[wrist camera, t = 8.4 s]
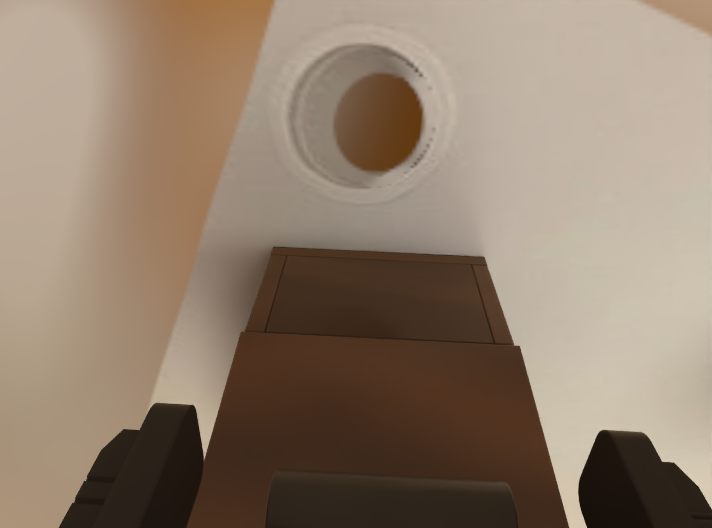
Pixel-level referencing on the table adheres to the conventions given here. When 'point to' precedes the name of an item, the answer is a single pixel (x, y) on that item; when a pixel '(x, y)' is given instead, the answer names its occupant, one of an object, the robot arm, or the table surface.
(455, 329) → the chest
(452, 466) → the lid
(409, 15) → the table surface
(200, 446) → the robot arm
